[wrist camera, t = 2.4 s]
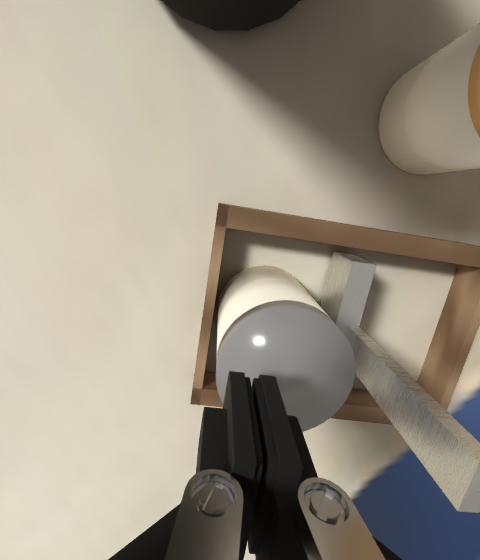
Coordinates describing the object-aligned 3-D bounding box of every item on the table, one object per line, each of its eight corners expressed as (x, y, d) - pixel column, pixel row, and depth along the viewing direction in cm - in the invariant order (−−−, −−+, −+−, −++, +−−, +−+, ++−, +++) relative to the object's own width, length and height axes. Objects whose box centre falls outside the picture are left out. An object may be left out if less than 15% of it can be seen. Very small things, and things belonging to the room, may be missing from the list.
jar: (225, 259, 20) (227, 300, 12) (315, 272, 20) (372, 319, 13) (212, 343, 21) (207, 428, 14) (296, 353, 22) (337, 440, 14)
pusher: (333, 251, 20) (506, 340, 8) (353, 254, 20) (556, 347, 8) (302, 377, 22) (399, 596, 10) (321, 379, 22) (439, 598, 10)
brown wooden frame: (218, 202, 19) (218, 204, 16) (474, 244, 20) (508, 251, 18) (193, 385, 22) (189, 409, 20) (415, 409, 24) (437, 433, 21)
